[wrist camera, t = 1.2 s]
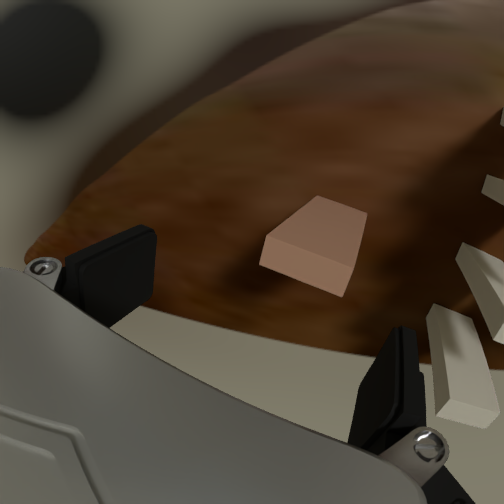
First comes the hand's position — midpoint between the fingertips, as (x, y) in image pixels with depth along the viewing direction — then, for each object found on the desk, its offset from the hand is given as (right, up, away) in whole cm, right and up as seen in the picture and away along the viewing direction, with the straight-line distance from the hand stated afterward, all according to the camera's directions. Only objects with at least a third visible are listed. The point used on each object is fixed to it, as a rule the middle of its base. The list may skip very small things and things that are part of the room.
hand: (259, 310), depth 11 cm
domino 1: (+7, +5, +14) cm, 17 cm away
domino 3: (+17, -4, +13) cm, 22 cm away
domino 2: (+19, +1, +10) cm, 21 cm away
